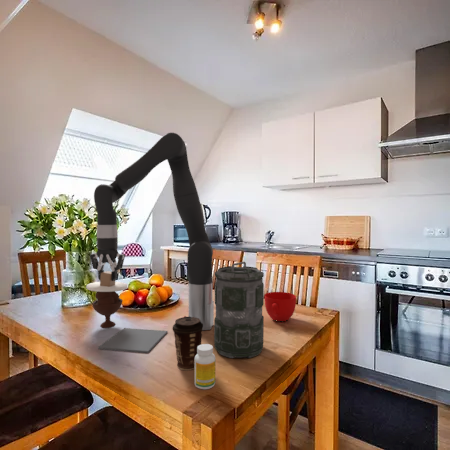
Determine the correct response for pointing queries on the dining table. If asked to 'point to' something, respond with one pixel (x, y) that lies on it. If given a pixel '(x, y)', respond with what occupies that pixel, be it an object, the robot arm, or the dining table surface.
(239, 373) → the dining table surface
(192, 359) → the coffee cup
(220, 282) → the canister
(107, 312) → the ice cream bowl
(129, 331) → the mat
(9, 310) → the dining table surface
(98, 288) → the lid
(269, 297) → the ceramic cup
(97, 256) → the robot arm
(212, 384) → the supplement bottle
